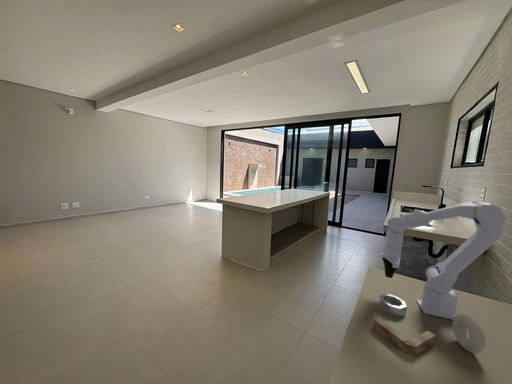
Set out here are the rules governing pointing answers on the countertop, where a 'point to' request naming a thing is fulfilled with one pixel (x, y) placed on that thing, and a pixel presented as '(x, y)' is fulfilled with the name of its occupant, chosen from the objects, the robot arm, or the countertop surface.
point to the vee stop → (400, 341)
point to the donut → (476, 333)
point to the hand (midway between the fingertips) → (388, 276)
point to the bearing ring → (392, 305)
